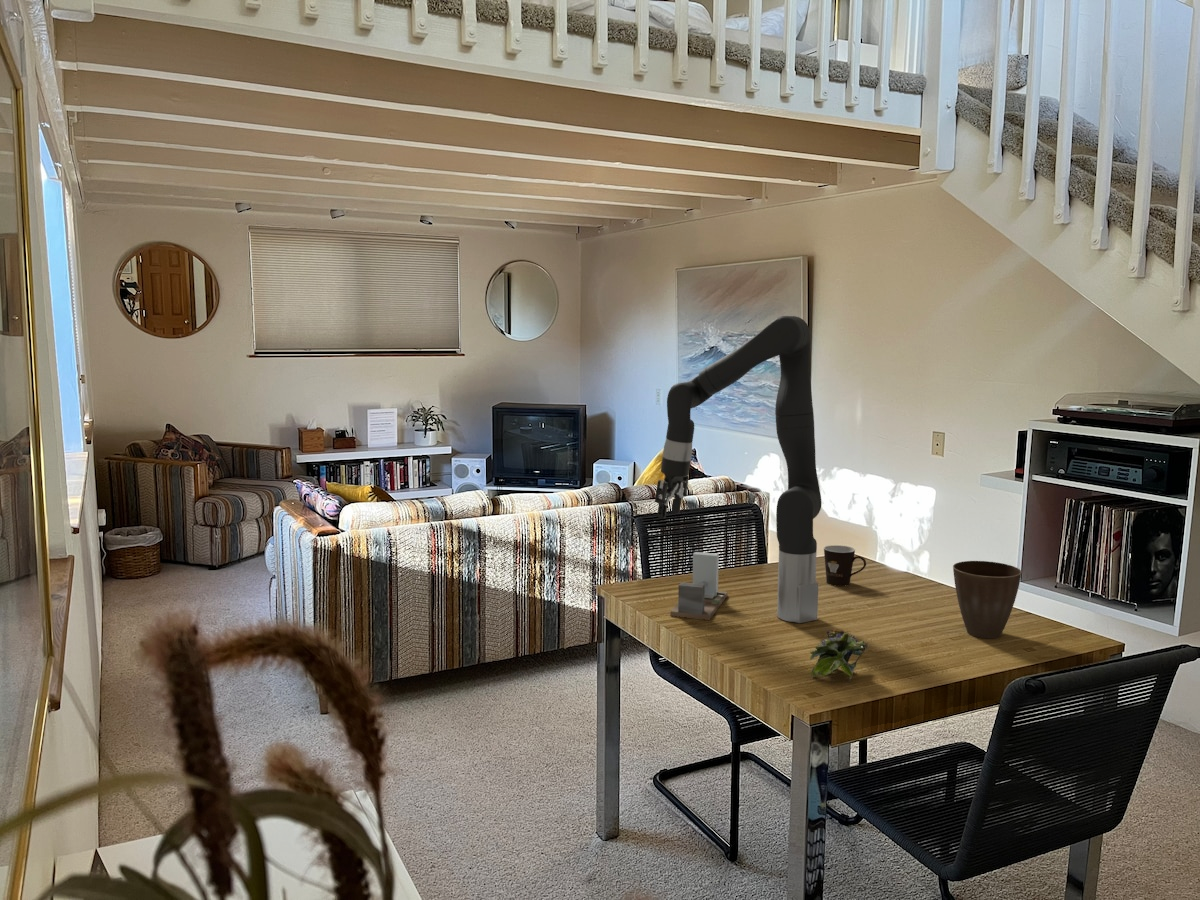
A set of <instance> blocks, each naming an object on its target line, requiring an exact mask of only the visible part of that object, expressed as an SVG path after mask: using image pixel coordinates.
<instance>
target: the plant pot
mask: <svg viewBox="0 0 1200 900" xmlns="http://www.w3.org/2000/svg"><path fill="white" fill-rule="evenodd" d="M952 570H953V580H954V586H955V587H954V588H955V592H956V597H957V598H956V599H957V602H958V607H959V610H960V614H961V616H962V617H961V618H962V620H963V624H964V626H965V627H964V628H965V629H966V632H967V633H968V634H969V635H970V636H973V637H975V638H976V637H977V638H982V639H997V638H1000V637H1001V635H1002V634H1003V631H1004V630H1005V627H1006V625H1007V623H1008V621H1009V618H1010V616H1011V613H1012V611H1013V607H1014V605H1015V601H1016V599H1017V595H1018V591H1019V589H1020V588H1019V587H1020V582H1021V577H1022V570H1021V569H1020V568H1018V567H1016V566H1013V565H1011V564H1006V563H1001V562H995V561H987V560H966V561H959V562H956V563H954V564H953V565H952Z"/></svg>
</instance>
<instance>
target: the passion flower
mask: <svg viewBox="0 0 1200 900" xmlns="http://www.w3.org/2000/svg"><path fill="white" fill-rule="evenodd" d="M820 643H821V644H820ZM820 643H817V645H816V646H814V648H815V650H810V651H809V653H810V654H811V656H810V661H812V659H814V658H817V657H818V658H817V661H816V663H815V665H814V667H812V669H811V671H810V673H811V677H812V678H813V677H817V676H819V675H821V676H822V677H826V676H828V675H830V674H832V673H833V672H835V670H837V669H838V668H841V670H842V672H844V673H845V674H846V675H847V676H849V678H848V679H849V680H848V683H851V679H852V677H853V672H854V670H855V668H856V666H857V663H858V662H859V660H860V658H861V656H863V654H864V653H865V651H867V649H868V647H869V645H868V641H866V642H865V640H861V641H858V637H856V636H855V635H850V634H849V633H848V632H846V633H845V631H844V630H838V629H833V631H831V630H826V638H824V640H822V641H821V640H820ZM852 655H854V656H858V657H857V658H856V660H855V661H854V662H853V663H849V661H850V658H851V657H852Z"/></svg>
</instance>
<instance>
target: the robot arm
mask: <svg viewBox="0 0 1200 900" xmlns="http://www.w3.org/2000/svg"><path fill="white" fill-rule="evenodd" d="M777 356H778V358H779V364H780V365H779V366H780V380H779V385H778V390H777V393H776V394H777V395H776V401H775V409H774V411H775V413H774V414H775V428H776V436H777V440H778V443H779V446H780V448H781V451H782V454H783V456H784V459H785V463H786V468H787V490H784V492H782V493H781V495H780V496H779V498H778V500H777V504H776V513H775V514H776V539H777V542H778V565H777V566H778V567H777V568H778V569H777V574H778V575H777V597H776V598H777V601H776V602H777V603H776V604H777V605H776V606H777V609H776V617H778V619H780V620H783V621H785V622H790V623H791V622H792V623H796V624H802V623H809V622H811V621H817V620H818V612H819V611H818V608H819V607H818V605H819V604H818V603H819V583H818V581H816V577H817V575H816V574H817V553H818V552H817V550H818V549H817V548H818V543H817V540H816V539H815V537H814V519H815V518H817V516H818V515H819V513H820V511H821V509H822V496H821V495H822V494H821V490H820V485H819V478H818V470H817V464H816V462H817V461H816V439H815V416H814V405H813V404H814V403H813V394H812V383H811V375H810V361H811V359H810V356H811V330H810V327H809V325H808V323H807V322H806V321H805V320H804V319H802V318H801V317H799V316H796V315H782V316H778V317H776V318H774V319H773V320H771V322H769V323H768V324H766V326H765V327H764V328H762V330H761V329H760V331H759V332H758V333H757V334H755V335H754V336H753V337H752V338H750V340H747V341H746V342H745V343H743V345H741V346H740V347H738V348H737V349H735V350H733V351H731V352H730V353H728V354H726V355H724V356H723V357H721V358H719V359H717V360H716V361H715V362H713V363H711V364H709V365H708V366H705V368H703V369H702V370H701V371H700V372H699V374H698V375H697V376H695V377H694V378H692V379H690V380H688V381H684V382H677V383H675V384H672V386H671V387H670V389H669V391H668V393H667V398H666V409H667V410H666V411H667V421H668V424H667V429H666V436H665V442H664V445H663V451H662V460H661V466H660V472H661V473H662V474H664V479H663V480H661V479H660V480H659V479H658V481H657V485H656V492H655V496H654V503H657V504H658V508H657V514H656V515H657V518H659V519H663V520H665V519H666V517H667V512H668V504H669V502H670V500H671V499H672V505H671V512H672V513H674V514H679V513H680V512H681V507H682V501H683V499H684V497H687V495H688V493H687V492H688V485H689V474H690V468H691V463H692V462H691V461H692V453H693V439H694V434H695V433H694V432H695V422H694V421H693V420H692V419H691V410H692V409H694V408H697V407H699V406H700V405H702V404H703V403H704V402H706V401H708V400H709V399H710V398H711V397H712V396H714V395H715V394H716V393H717V394H718V393H719V392H720V391H722V390H724V389H725V388H728V387H729V386H731V385H733V384H734V383H736V382H737V381H739V380H740V379H741V378H743V377H744V376H745V375H746V374H748V372H749V371H751V370H753V369H754V368H755V367H757V366H758V365H760V364H762V363H763V362H766V361H768V360H770V359H772V358H775V357H777Z"/></svg>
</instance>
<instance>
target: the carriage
mask: <svg viewBox="0 0 1200 900" xmlns="http://www.w3.org/2000/svg"><path fill="white" fill-rule="evenodd" d="M719 557H720V556H719V553H712V552H711V553H710V552H702V551H694V552H693V554H692V583H696V584H705V598H712V599H713V597H714V596H717V595H724V596H725V593H718V591H719V562H720V561H719Z"/></svg>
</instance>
